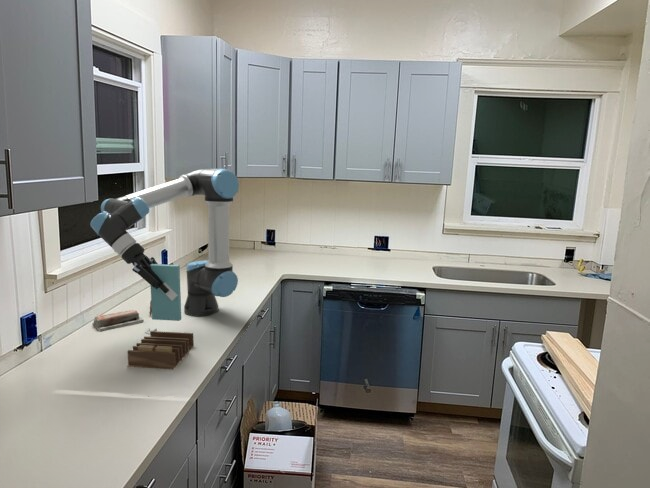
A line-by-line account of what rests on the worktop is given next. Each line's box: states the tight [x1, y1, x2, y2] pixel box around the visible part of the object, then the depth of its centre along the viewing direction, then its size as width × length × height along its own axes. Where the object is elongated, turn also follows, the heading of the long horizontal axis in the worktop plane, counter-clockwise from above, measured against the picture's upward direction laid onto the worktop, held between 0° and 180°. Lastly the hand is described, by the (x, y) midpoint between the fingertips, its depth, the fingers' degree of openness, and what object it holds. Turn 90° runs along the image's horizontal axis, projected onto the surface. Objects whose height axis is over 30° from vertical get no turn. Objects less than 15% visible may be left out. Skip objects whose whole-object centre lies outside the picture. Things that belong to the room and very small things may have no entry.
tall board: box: [150, 263, 182, 322], centre depth 169 cm, size 2×10×20 cm, turn 86°
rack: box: [126, 330, 195, 370], centre depth 166 cm, size 19×16×6 cm
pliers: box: [144, 327, 158, 335], centre depth 184 cm, size 10×2×15 cm
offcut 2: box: [155, 346, 172, 352], centre depth 160 cm, size 2×5×6 cm, turn 86°
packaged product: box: [91, 309, 145, 332], centre depth 199 cm, size 18×5×10 cm
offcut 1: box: [138, 345, 155, 351], centre depth 160 cm, size 2×5×6 cm, turn 85°
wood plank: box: [148, 300, 152, 316], centre depth 214 cm, size 15×2×5 cm, turn 12°
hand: (176, 296), depth 169 cm, fingers closed on tall board, 2 cm apart
